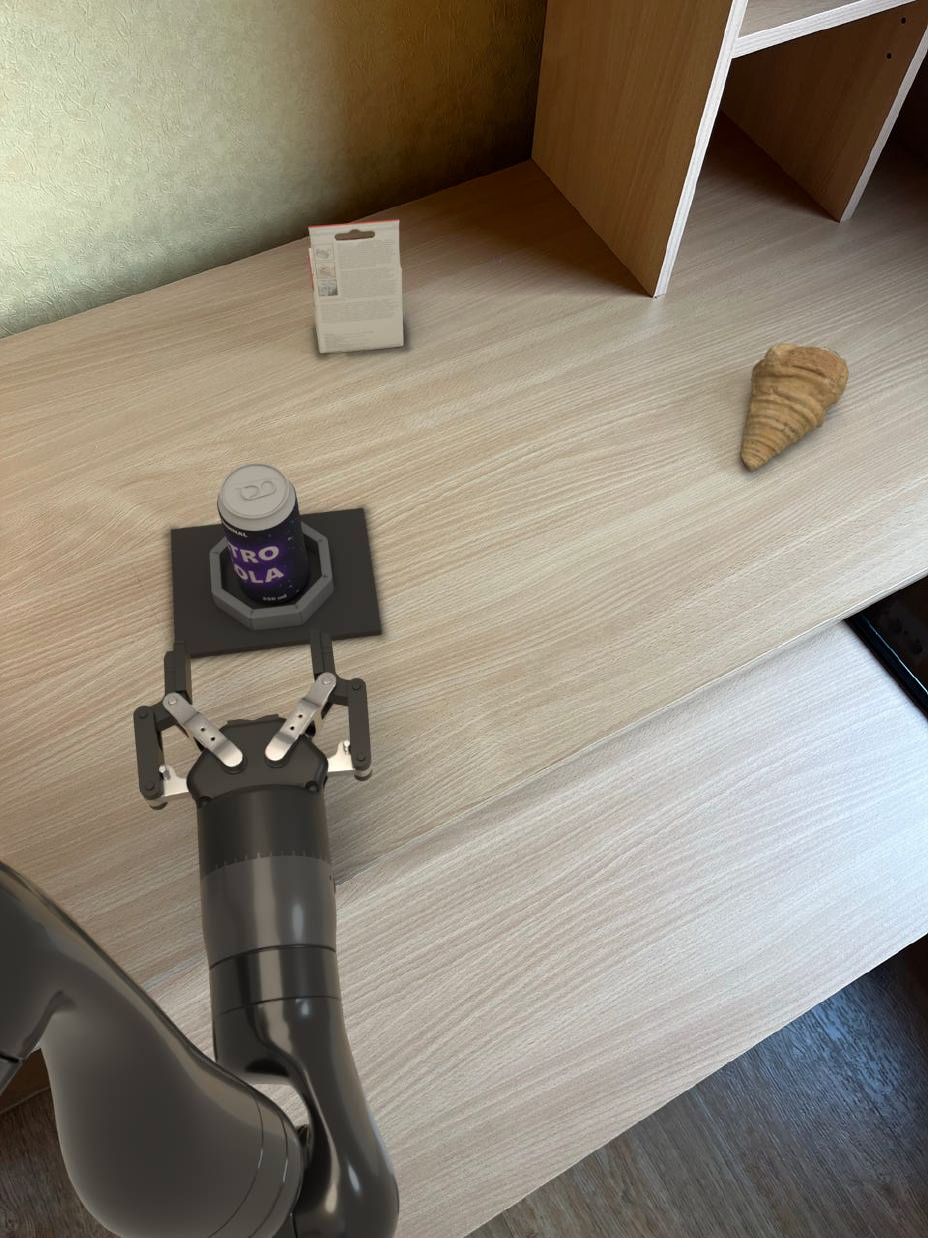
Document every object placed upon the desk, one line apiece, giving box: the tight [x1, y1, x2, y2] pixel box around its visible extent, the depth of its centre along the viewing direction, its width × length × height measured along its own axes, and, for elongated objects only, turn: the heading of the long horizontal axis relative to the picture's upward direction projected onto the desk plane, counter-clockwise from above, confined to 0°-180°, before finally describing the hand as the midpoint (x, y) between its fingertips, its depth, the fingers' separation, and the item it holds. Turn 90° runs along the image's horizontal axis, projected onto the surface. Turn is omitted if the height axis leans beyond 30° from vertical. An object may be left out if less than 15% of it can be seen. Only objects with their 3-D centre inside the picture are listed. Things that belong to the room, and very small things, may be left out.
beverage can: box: [216, 462, 309, 604], centre depth 80 cm, size 6×6×12 cm
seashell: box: [739, 342, 850, 472], centre depth 94 cm, size 14×8×8 cm
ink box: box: [307, 219, 405, 355], centre depth 94 cm, size 4×8×15 cm, turn 99°
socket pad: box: [170, 507, 382, 659], centre depth 85 cm, size 16×12×3 cm
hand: (248, 638), depth 69 cm, fingers open, 8 cm apart
